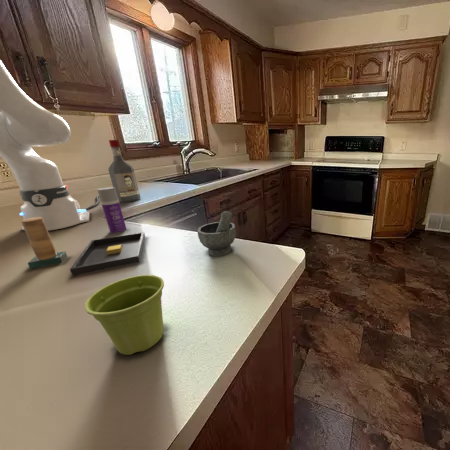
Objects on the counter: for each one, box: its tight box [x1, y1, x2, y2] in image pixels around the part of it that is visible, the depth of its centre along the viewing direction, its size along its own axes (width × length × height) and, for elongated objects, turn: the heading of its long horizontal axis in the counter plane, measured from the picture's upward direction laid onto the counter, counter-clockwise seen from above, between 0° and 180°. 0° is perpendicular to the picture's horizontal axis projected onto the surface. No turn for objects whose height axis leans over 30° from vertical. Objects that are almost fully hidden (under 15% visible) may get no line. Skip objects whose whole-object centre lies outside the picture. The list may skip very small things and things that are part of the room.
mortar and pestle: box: [197, 210, 237, 257], centre depth 65 cm, size 11×9×12 cm
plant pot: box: [83, 274, 165, 356], centre depth 36 cm, size 9×9×9 cm
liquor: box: [108, 139, 141, 203], centre depth 124 cm, size 9×9×30 cm
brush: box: [20, 217, 68, 269], centre depth 60 cm, size 4×6×12 cm, turn 118°
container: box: [97, 186, 127, 234], centre depth 81 cm, size 5×5×15 cm
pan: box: [69, 231, 146, 276], centre depth 66 cm, size 19×13×2 cm
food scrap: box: [107, 245, 122, 255], centre depth 67 cm, size 3×3×1 cm
